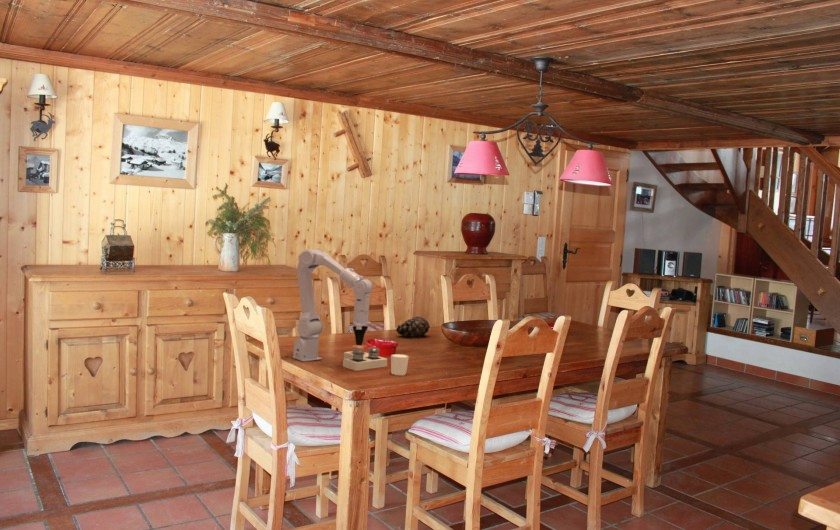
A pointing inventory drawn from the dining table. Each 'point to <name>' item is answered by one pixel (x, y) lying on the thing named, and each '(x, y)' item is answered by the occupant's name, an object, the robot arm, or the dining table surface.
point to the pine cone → (413, 328)
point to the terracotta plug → (358, 347)
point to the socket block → (363, 362)
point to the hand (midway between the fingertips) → (359, 344)
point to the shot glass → (399, 364)
